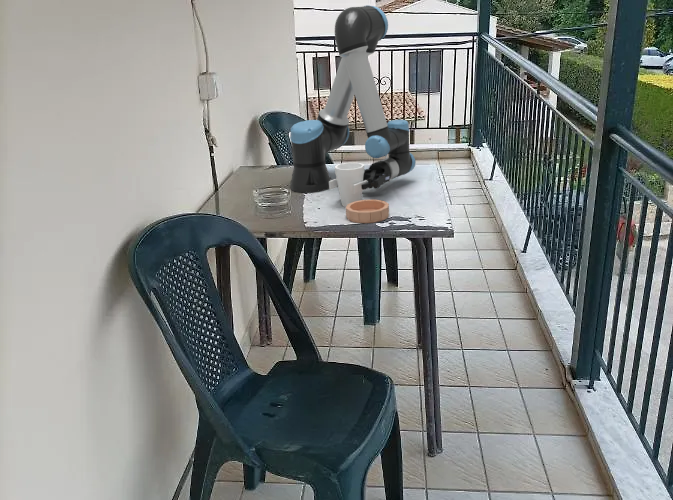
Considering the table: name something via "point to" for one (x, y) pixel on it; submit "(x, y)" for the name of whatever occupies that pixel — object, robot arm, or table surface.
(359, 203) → the bowl
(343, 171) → the foam cup
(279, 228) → the table surface
